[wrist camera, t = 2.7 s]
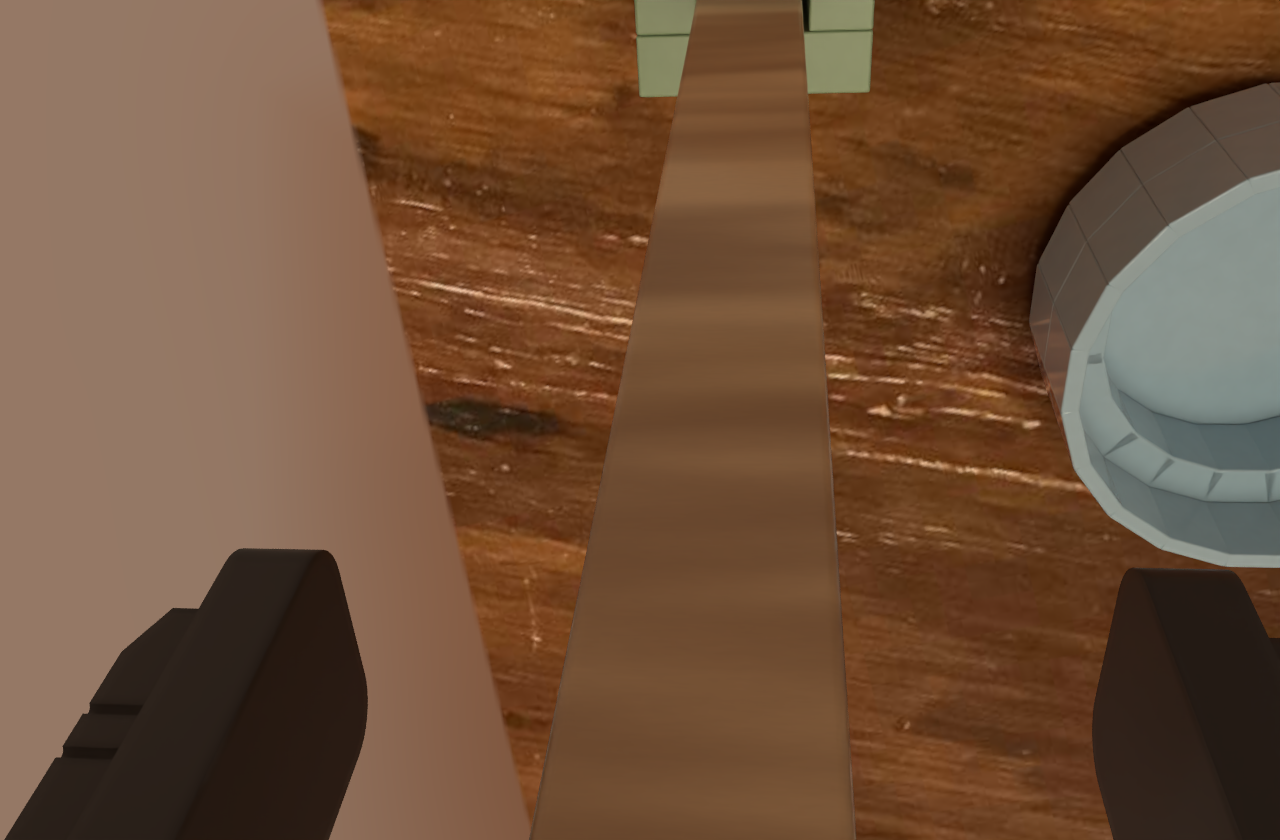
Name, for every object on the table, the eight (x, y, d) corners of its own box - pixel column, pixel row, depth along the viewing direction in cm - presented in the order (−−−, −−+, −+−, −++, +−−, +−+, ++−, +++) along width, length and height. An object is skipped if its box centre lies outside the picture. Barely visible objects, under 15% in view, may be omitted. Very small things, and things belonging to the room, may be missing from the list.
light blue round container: (1056, 76, 35) (1103, 156, 30) (1546, 66, 33) (1681, 147, 28) (1004, 449, 42) (1035, 563, 37) (1405, 453, 40) (1494, 572, 35)
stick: (719, -118, 33) (475, 1093, 6) (794, -121, 32) (875, 1119, 6) (720, -41, 34) (517, 1269, 7) (793, -43, 33) (857, 1296, 7)
